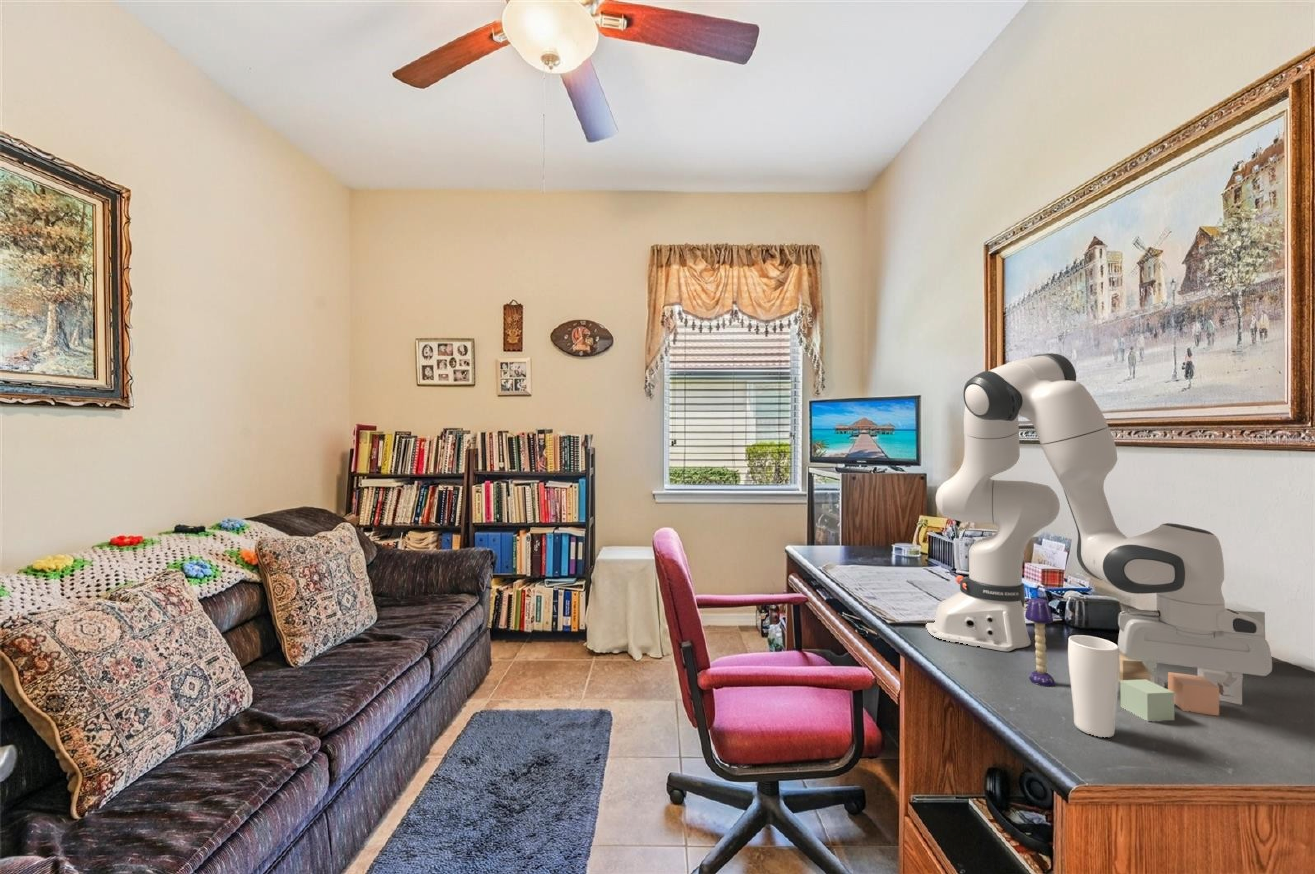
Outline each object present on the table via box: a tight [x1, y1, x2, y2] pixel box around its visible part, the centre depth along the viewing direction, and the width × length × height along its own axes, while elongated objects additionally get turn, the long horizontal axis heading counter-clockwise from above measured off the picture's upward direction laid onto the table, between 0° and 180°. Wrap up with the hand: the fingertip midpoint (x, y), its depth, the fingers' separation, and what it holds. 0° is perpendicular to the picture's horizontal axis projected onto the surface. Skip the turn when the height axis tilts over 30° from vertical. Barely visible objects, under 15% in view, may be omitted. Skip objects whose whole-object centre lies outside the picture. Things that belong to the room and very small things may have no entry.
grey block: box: [1197, 668, 1243, 706], centre depth 101 cm, size 5×5×5 cm
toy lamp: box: [1024, 597, 1056, 687], centre depth 107 cm, size 5×5×17 cm
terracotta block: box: [1167, 671, 1220, 716], centre depth 97 cm, size 5×5×5 cm
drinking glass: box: [1067, 634, 1120, 739], centre depth 90 cm, size 7×7×15 cm
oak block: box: [1119, 650, 1150, 683], centre depth 108 cm, size 5×5×5 cm
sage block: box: [1119, 679, 1175, 722], centre depth 95 cm, size 5×5×5 cm
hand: (1191, 690), depth 96 cm, fingers open, 8 cm apart
